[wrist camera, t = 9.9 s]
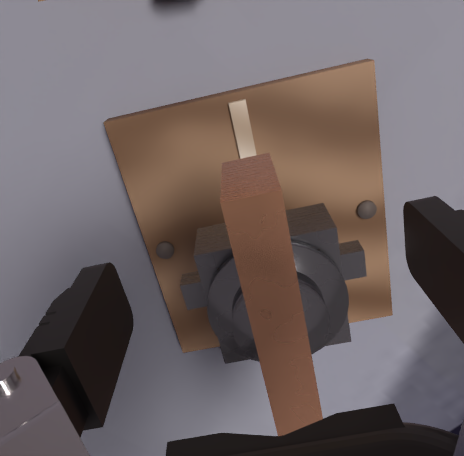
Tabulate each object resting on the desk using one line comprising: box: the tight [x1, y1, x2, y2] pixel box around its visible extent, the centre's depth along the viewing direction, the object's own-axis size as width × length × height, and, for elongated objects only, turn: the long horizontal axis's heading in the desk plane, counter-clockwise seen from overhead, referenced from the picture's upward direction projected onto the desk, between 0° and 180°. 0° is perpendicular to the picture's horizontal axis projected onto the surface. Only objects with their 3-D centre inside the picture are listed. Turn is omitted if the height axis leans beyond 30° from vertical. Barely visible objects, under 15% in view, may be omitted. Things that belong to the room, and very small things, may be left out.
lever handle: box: [180, 153, 367, 436], centre depth 20 cm, size 10×16×9 cm, turn 12°
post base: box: [103, 59, 392, 353], centre depth 25 cm, size 18×16×9 cm
